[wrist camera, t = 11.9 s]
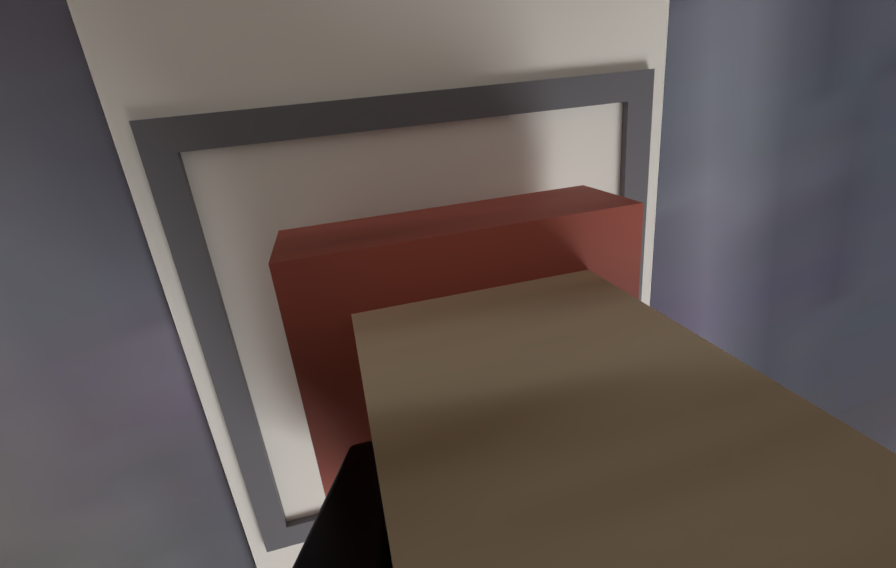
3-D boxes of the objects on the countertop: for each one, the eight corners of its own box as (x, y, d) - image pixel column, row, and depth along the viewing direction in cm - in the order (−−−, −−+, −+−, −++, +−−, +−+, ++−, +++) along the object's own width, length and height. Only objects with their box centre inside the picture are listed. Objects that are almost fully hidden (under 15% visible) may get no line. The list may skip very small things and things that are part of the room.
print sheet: (631, 486, 15) (640, 498, 15) (269, 591, 13) (267, 609, 13) (661, -31, 10) (678, -37, 10) (73, 1, 8) (58, -5, 7)
